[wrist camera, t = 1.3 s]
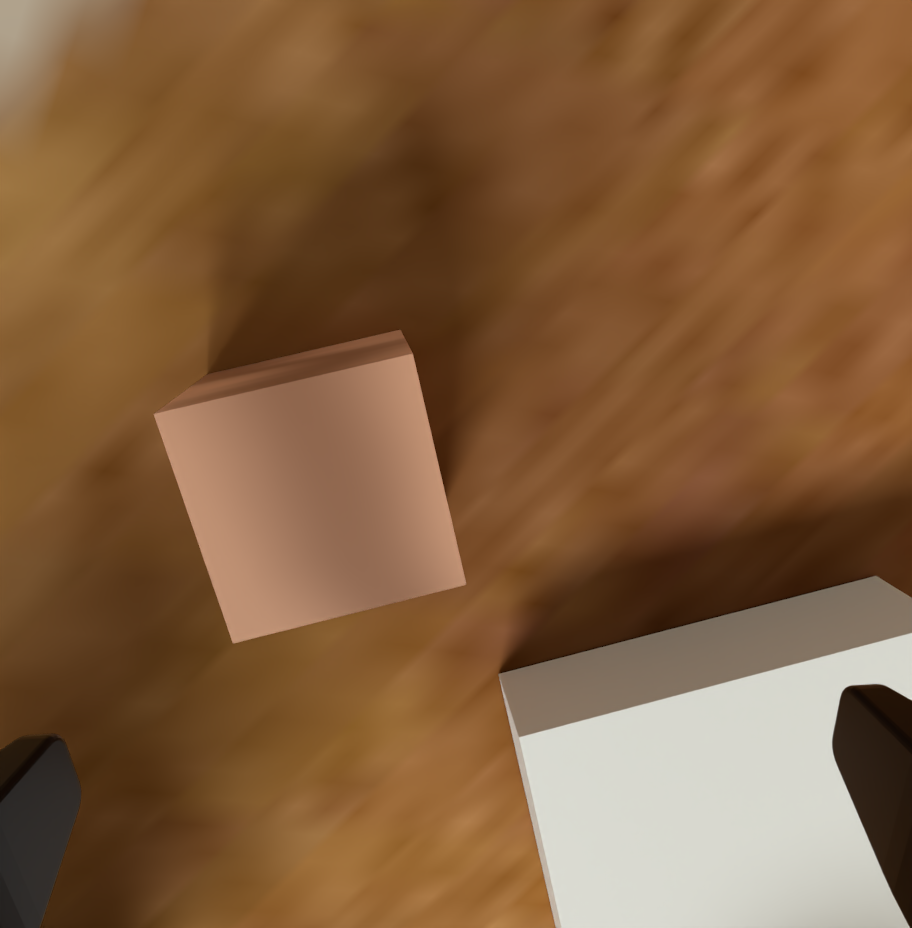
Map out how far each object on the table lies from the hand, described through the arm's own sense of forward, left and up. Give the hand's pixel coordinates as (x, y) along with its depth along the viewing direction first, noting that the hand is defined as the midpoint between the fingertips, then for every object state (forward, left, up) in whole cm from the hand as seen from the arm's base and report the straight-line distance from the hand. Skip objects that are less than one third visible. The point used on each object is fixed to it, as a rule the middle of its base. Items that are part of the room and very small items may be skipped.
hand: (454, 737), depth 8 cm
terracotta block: (-2, +1, -12) cm, 12 cm away
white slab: (+7, -13, -12) cm, 19 cm away
